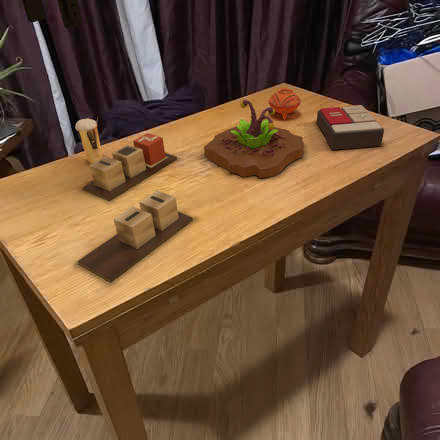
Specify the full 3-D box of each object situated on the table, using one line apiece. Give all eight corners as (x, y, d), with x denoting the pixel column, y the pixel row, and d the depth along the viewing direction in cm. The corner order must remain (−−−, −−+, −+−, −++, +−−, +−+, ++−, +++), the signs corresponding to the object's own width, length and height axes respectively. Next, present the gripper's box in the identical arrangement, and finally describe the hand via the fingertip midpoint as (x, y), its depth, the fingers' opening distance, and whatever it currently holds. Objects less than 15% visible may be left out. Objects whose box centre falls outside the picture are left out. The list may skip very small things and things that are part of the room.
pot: (261, 118, 107) (264, 88, 103) (274, 114, 112) (277, 86, 109) (291, 122, 103) (295, 91, 100) (303, 118, 109) (307, 89, 106)
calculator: (363, 103, 102) (385, 126, 90) (360, 121, 104) (381, 146, 93) (317, 106, 101) (334, 130, 90) (315, 125, 104) (331, 150, 93)
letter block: (136, 160, 94) (132, 140, 90) (151, 152, 96) (147, 132, 93) (151, 165, 91) (147, 145, 88) (165, 157, 94) (162, 137, 91)
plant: (247, 126, 104) (246, 77, 96) (316, 147, 95) (322, 95, 87) (190, 158, 94) (185, 107, 86) (261, 186, 84) (262, 130, 77)
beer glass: (107, 165, 94) (95, 119, 87) (83, 166, 94) (70, 121, 87) (111, 155, 97) (100, 111, 90) (88, 156, 98) (75, 112, 91)
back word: (83, 189, 87) (75, 166, 84) (151, 150, 98) (147, 128, 95) (109, 201, 84) (103, 177, 80) (177, 159, 94) (173, 136, 91)
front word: (78, 264, 70) (68, 238, 67) (160, 206, 81) (156, 182, 78) (110, 282, 67) (102, 256, 63) (192, 220, 77) (189, 195, 74)
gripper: (-43, -116, 61) (6, 23, 73) (28, -123, 53) (70, 35, 65) (3, -119, 65) (42, 13, 77) (76, -126, 57) (107, 23, 69)
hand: (55, 23), depth 71 cm, fingers open, 9 cm apart
